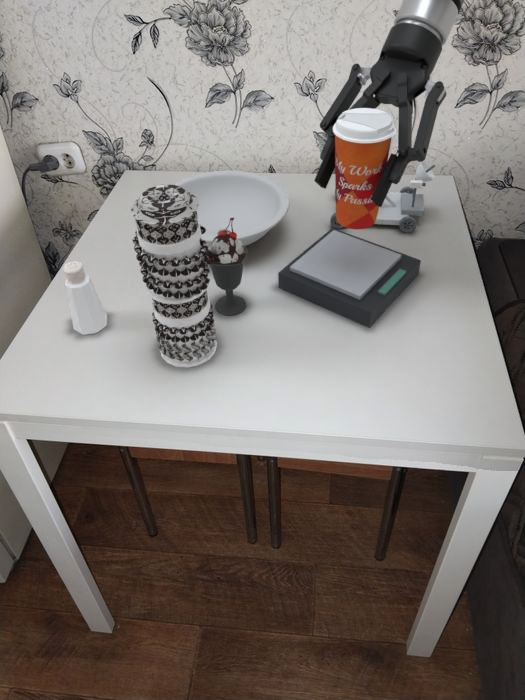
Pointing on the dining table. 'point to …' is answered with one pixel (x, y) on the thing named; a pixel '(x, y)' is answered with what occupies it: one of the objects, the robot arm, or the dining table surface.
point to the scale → (349, 276)
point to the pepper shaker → (83, 300)
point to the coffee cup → (360, 163)
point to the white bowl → (237, 203)
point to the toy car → (402, 203)
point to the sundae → (227, 269)
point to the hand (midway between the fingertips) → (347, 193)
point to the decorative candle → (175, 273)
